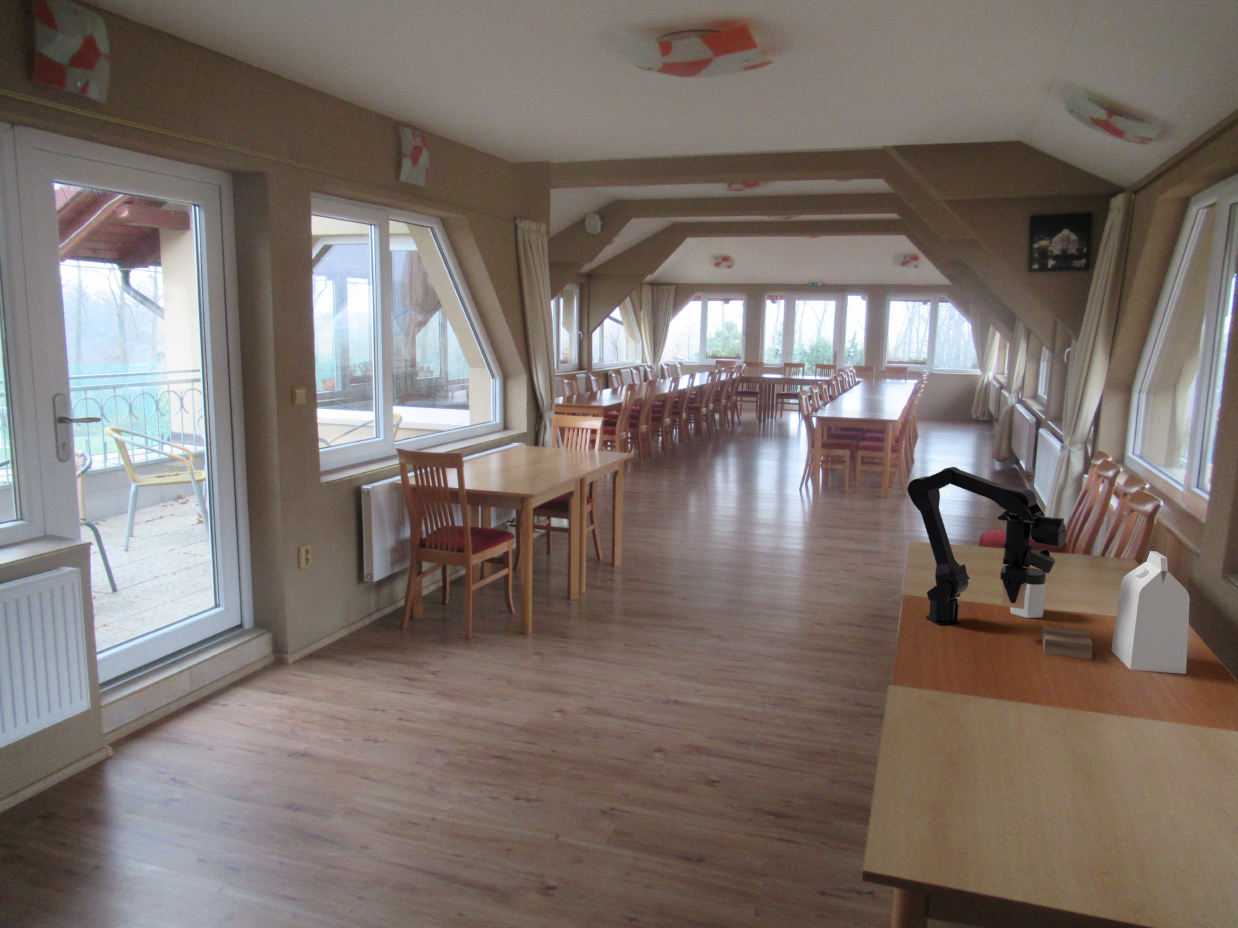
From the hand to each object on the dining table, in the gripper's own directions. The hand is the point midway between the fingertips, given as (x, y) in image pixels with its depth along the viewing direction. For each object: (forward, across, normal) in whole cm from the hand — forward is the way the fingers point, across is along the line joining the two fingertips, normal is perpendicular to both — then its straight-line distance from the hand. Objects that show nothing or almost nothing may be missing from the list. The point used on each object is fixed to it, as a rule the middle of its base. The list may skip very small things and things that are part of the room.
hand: (1013, 599), depth 213 cm
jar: (+10, +22, -3) cm, 25 cm away
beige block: (+10, -2, -12) cm, 16 cm away
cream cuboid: (+1, 0, 0) cm, 1 cm away
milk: (+10, -2, -29) cm, 31 cm away
